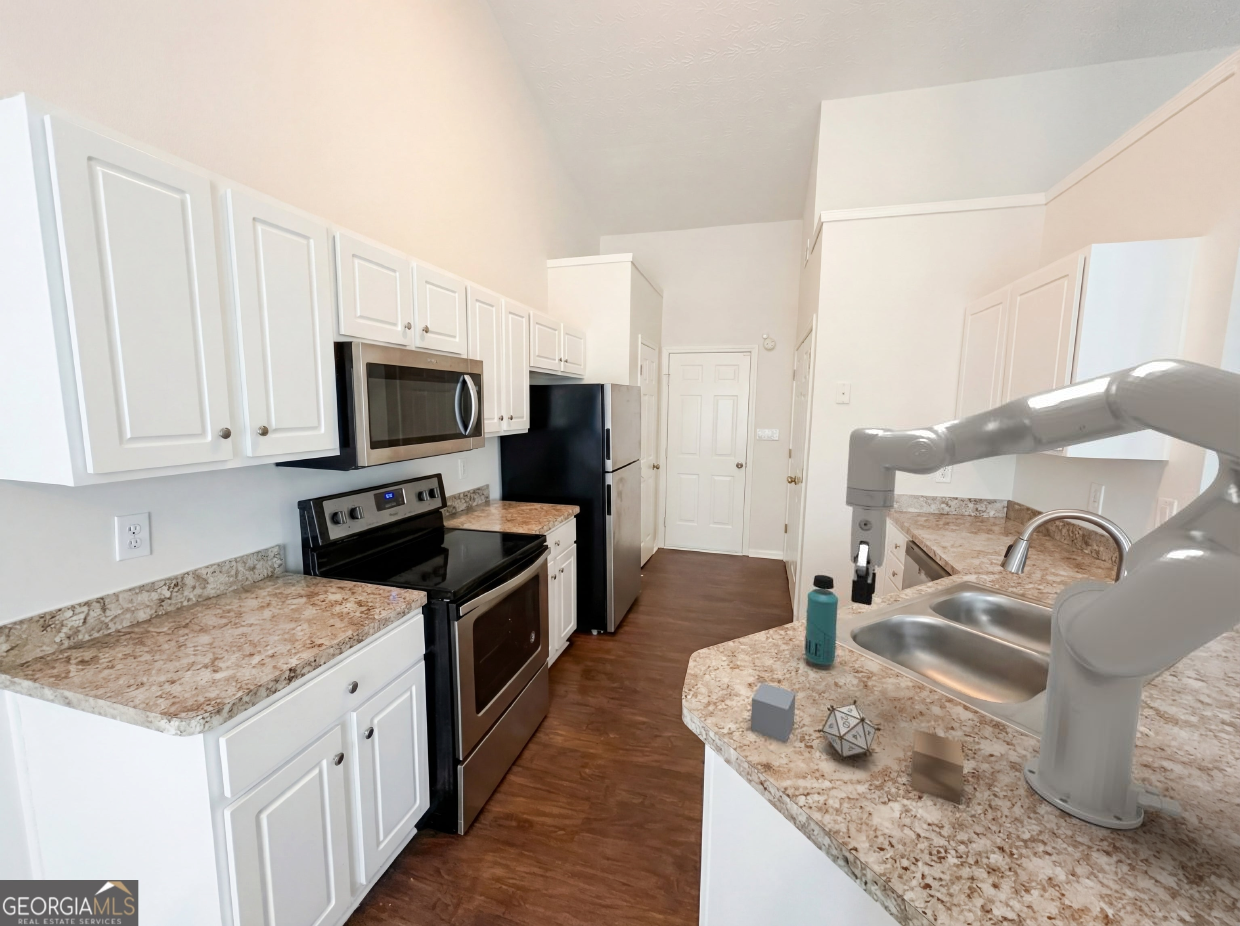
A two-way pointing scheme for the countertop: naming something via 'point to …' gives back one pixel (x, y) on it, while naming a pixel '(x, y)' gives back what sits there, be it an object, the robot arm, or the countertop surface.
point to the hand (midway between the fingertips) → (863, 596)
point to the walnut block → (937, 766)
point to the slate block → (773, 712)
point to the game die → (849, 730)
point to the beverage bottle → (821, 622)
